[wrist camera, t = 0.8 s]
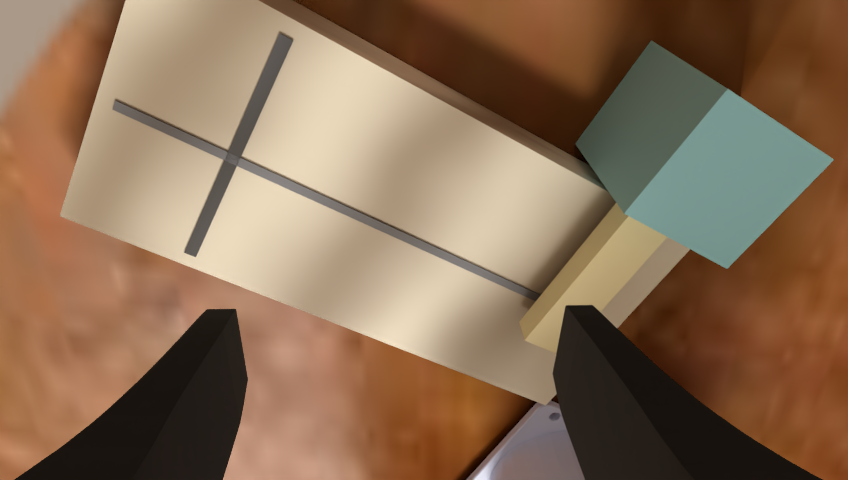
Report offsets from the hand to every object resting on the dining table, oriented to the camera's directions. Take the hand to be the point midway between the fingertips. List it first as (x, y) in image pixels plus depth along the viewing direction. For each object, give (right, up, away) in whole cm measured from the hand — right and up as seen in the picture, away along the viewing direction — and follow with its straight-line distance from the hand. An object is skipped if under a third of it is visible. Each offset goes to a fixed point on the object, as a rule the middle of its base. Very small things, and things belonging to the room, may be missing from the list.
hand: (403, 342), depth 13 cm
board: (-1, +4, +8) cm, 9 cm away
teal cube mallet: (+7, +4, +9) cm, 12 cm away
